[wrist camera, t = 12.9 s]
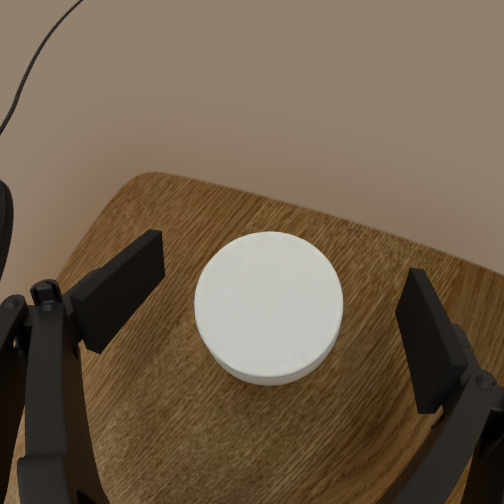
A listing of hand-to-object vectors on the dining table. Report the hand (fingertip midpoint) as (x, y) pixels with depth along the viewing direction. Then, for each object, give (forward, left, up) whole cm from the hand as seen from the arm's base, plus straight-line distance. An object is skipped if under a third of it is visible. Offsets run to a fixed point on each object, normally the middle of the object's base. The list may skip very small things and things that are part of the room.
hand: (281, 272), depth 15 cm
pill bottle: (+2, 0, -5) cm, 5 cm away
